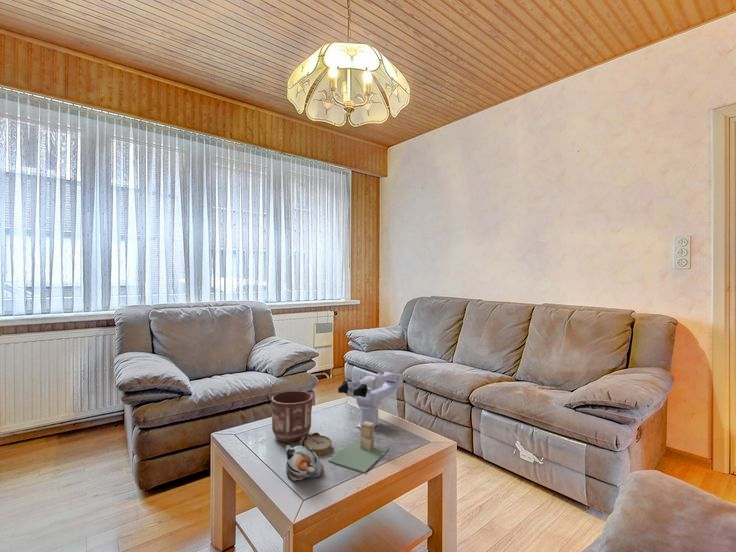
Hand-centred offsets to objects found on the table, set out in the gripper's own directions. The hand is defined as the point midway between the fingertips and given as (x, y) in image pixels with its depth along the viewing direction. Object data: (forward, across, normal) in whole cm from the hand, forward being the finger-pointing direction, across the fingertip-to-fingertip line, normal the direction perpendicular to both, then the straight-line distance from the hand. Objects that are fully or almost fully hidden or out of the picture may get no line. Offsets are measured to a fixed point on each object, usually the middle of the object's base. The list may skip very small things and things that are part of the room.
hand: (346, 391), depth 155 cm
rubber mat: (+5, +11, +22) cm, 25 cm away
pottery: (+6, -23, +23) cm, 33 cm away
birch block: (-1, +11, +21) cm, 24 cm away
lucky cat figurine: (+27, +1, +24) cm, 36 cm away
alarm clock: (+9, -8, +23) cm, 26 cm away
